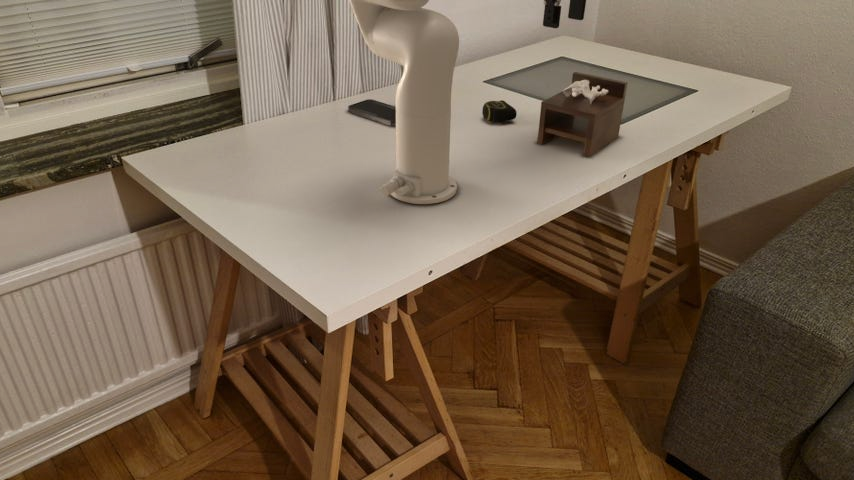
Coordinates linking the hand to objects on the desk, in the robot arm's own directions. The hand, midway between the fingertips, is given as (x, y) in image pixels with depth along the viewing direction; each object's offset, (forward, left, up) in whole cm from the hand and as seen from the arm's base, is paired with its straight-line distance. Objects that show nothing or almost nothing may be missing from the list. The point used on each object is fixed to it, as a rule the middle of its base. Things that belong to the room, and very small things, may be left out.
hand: (563, 23), depth 134 cm
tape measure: (+5, +16, -25) cm, 30 cm away
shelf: (+5, -4, -24) cm, 25 cm away
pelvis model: (+4, -4, -16) cm, 17 cm away
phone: (-10, +39, -25) cm, 47 cm away
